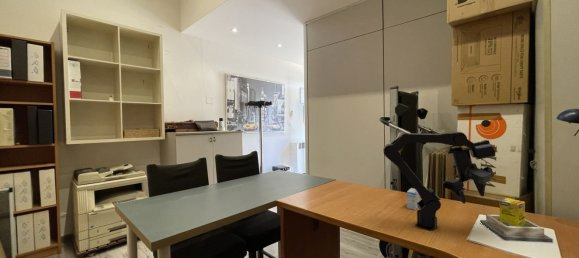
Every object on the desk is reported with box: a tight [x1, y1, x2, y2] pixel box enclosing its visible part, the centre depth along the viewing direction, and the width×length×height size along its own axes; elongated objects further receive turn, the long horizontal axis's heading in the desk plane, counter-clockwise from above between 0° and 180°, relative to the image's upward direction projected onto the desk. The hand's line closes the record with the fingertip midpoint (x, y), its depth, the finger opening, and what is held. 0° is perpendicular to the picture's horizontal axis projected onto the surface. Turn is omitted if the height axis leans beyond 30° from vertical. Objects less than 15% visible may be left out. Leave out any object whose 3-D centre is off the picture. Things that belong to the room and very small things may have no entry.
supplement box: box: [499, 197, 526, 227], centre depth 94 cm, size 6×6×11 cm
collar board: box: [479, 214, 554, 243], centre depth 94 cm, size 15×15×4 cm
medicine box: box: [406, 187, 421, 211], centre depth 124 cm, size 8×4×9 cm, turn 141°
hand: (473, 199), depth 96 cm, fingers open, 9 cm apart
